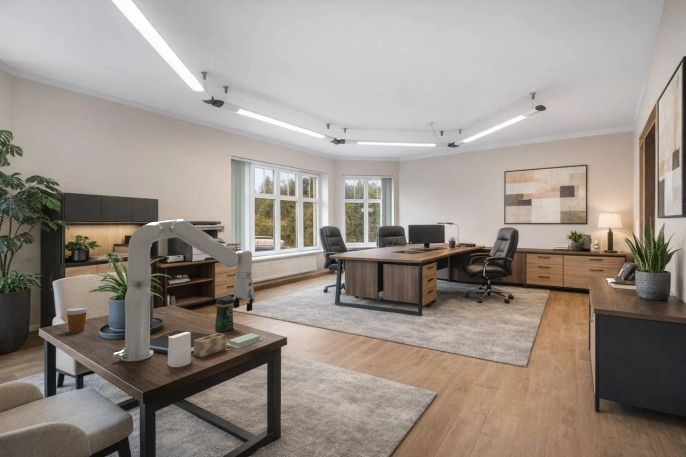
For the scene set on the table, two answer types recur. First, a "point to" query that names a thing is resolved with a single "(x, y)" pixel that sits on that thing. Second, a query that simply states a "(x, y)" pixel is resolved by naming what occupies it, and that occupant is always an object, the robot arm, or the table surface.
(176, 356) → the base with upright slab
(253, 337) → the lid
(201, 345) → the pencil box
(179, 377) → the table surface
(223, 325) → the coffee jar
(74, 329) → the disposable coffee cup
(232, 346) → the felt mat
